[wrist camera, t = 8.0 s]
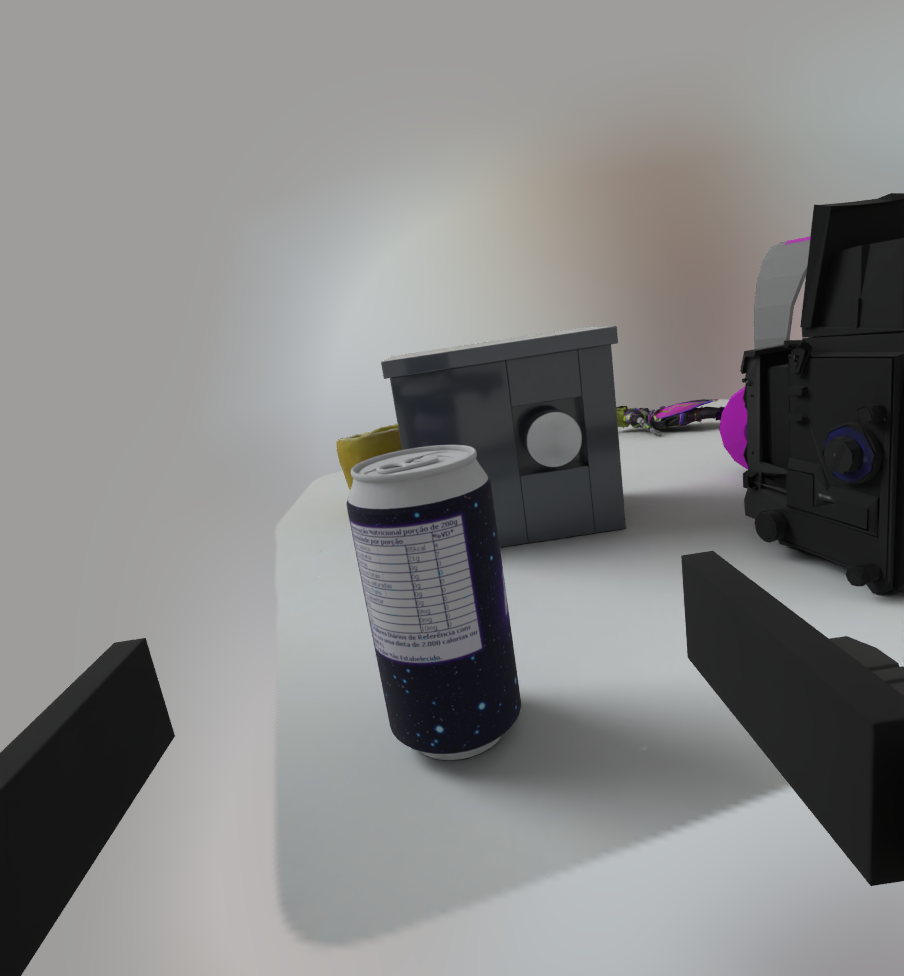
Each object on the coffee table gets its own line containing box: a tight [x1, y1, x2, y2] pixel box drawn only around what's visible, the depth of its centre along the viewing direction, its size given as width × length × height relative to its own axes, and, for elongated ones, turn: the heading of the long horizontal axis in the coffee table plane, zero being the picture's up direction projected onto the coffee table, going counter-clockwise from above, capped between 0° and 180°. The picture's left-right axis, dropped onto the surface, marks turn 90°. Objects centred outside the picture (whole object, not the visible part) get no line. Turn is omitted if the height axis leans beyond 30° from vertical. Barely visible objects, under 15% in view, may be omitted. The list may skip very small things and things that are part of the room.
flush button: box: [524, 410, 582, 467], centre depth 45 cm, size 4×1×4 cm, turn 92°
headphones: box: [720, 237, 811, 470], centre depth 58 cm, size 21×9×20 cm, turn 132°
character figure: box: [616, 399, 725, 436], centre depth 80 cm, size 9×4×16 cm
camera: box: [740, 193, 904, 594], centre depth 36 cm, size 10×14×20 cm
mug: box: [337, 424, 402, 490], centre depth 65 cm, size 12×10×10 cm
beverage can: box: [347, 445, 521, 760], centre depth 25 cm, size 6×6×12 cm
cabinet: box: [381, 326, 626, 547], centre depth 50 cm, size 17×11×15 cm, turn 92°
